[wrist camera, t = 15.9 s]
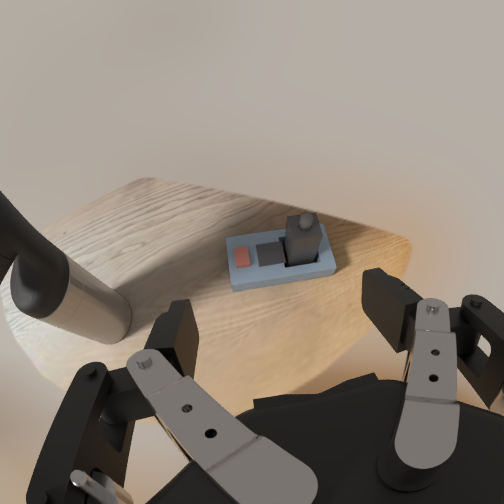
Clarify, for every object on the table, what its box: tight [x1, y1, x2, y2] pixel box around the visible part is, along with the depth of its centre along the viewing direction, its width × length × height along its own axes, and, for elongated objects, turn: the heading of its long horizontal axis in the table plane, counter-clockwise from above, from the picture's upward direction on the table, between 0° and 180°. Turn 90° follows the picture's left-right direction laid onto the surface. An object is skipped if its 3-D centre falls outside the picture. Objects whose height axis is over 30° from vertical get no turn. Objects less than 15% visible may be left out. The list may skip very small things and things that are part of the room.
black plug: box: [283, 212, 323, 267], centre depth 39 cm, size 4×4×12 cm
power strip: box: [225, 223, 337, 292], centre depth 43 cm, size 16×8×4 cm, turn 99°
